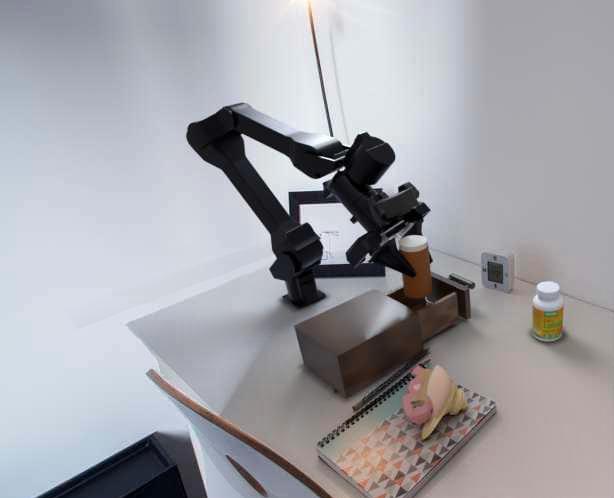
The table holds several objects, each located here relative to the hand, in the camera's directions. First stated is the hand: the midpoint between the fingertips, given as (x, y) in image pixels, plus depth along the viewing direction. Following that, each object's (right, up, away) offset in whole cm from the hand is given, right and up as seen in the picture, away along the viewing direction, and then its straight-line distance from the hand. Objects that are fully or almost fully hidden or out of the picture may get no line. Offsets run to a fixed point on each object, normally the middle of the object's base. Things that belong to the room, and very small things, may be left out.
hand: (423, 269), depth 92 cm
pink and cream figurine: (+4, -23, -15) cm, 27 cm away
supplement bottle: (+22, -12, +4) cm, 25 cm away
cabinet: (-10, -15, -2) cm, 18 cm away
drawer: (0, -9, +7) cm, 12 cm away
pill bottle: (-1, -4, +3) cm, 5 cm away
